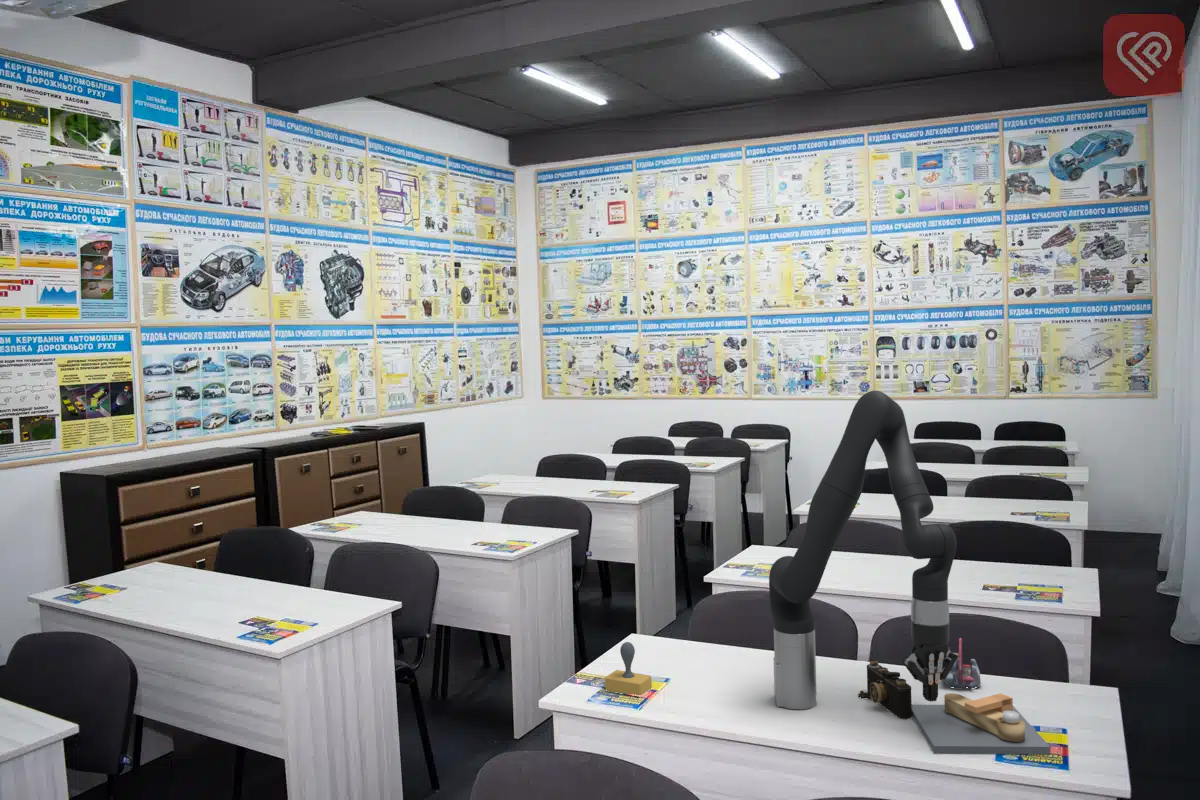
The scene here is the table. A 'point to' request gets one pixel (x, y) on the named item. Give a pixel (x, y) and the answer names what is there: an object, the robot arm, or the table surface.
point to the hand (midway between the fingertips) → (930, 700)
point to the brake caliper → (963, 672)
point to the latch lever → (985, 719)
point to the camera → (888, 690)
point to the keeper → (991, 703)
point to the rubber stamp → (628, 675)
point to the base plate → (972, 734)
